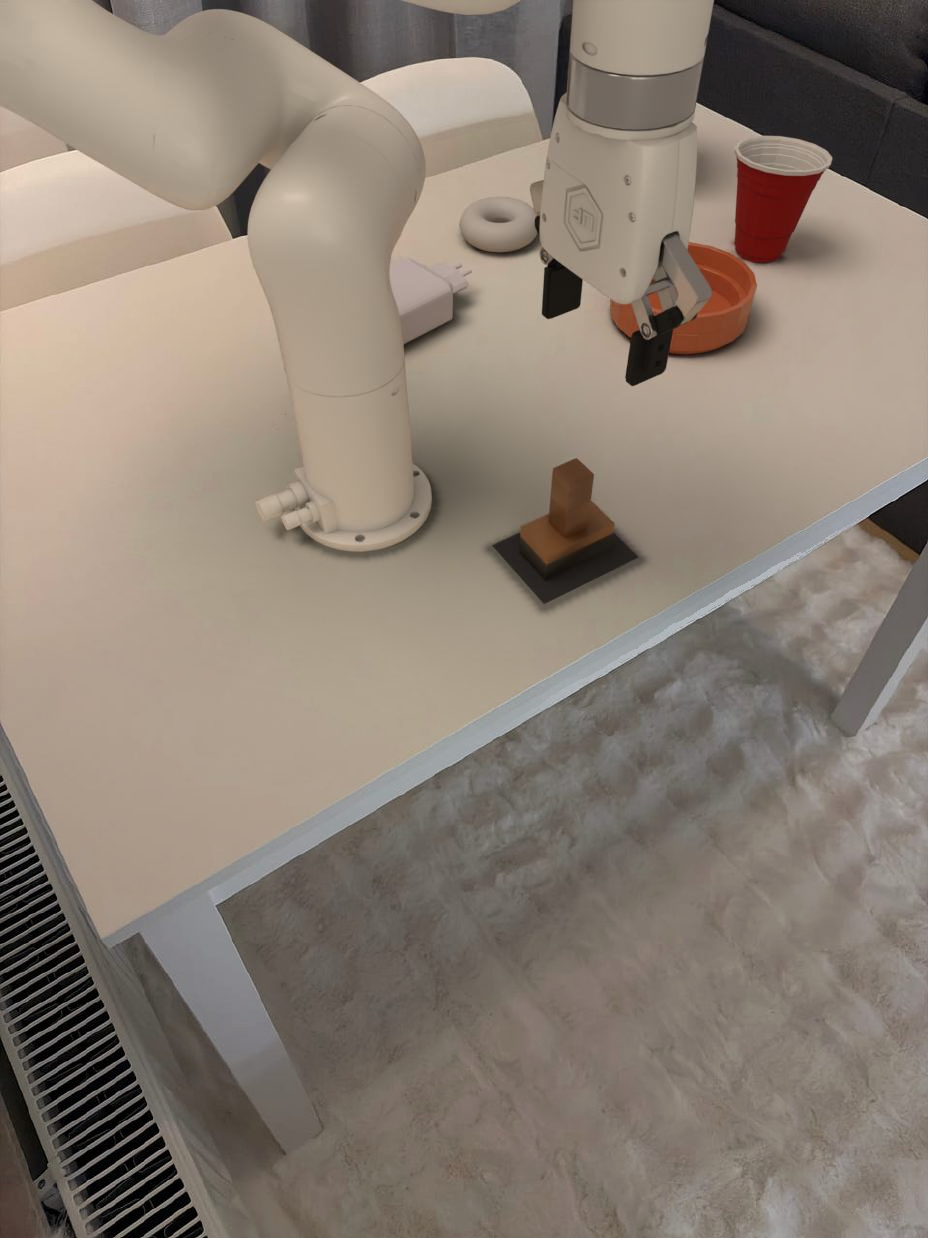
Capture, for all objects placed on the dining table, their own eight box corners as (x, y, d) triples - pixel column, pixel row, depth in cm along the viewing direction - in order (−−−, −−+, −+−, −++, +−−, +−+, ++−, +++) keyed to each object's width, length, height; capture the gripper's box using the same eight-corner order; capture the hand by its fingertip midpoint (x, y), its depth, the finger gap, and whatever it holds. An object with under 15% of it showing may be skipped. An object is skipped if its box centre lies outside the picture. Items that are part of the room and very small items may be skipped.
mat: (543, 606, 76) (544, 603, 76) (492, 548, 81) (492, 545, 80) (638, 560, 80) (638, 556, 79) (583, 506, 84) (584, 502, 84)
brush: (545, 581, 78) (551, 501, 71) (518, 552, 80) (522, 472, 73) (611, 549, 80) (623, 469, 73) (583, 522, 82) (593, 441, 75)
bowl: (668, 374, 96) (675, 332, 93) (582, 306, 105) (586, 266, 101) (774, 329, 101) (786, 288, 98) (685, 268, 110) (692, 228, 106)
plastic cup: (817, 242, 113) (847, 141, 104) (786, 282, 107) (815, 179, 98) (733, 219, 117) (755, 120, 108) (700, 257, 111) (720, 156, 102)
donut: (554, 232, 116) (489, 209, 119) (556, 206, 113) (489, 182, 117) (509, 267, 111) (443, 241, 114) (511, 240, 108) (443, 214, 112)
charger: (493, 302, 106) (392, 355, 99) (440, 271, 110) (340, 320, 104) (493, 264, 102) (389, 316, 96) (439, 234, 106) (335, 281, 100)
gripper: (494, 53, 56) (491, 304, 69) (683, 159, 47) (638, 426, 60) (591, 27, 59) (570, 275, 72) (789, 123, 49) (723, 387, 63)
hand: (601, 343), depth 66 cm, fingers open, 9 cm apart
